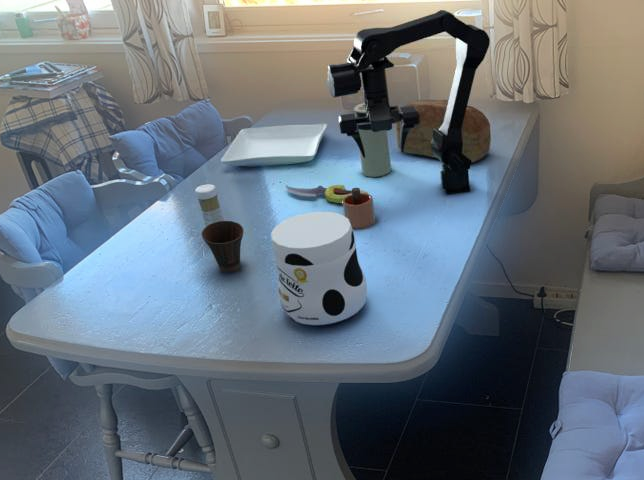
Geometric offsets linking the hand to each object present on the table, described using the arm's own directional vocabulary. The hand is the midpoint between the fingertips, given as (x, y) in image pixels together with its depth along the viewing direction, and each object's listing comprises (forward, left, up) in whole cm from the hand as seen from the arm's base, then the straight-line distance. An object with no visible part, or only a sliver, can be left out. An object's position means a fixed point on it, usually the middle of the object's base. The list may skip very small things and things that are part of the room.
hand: (383, 154), depth 184 cm
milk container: (+18, +46, -13) cm, 51 cm away
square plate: (+28, -47, -13) cm, 56 cm away
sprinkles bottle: (+42, +7, -13) cm, 45 cm away
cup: (+38, +23, -13) cm, 46 cm away
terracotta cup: (+8, +8, -13) cm, 17 cm away
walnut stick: (+8, +8, -12) cm, 17 cm away
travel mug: (+1, -22, -13) cm, 26 cm away
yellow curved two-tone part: (+16, -10, -13) cm, 23 cm away
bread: (-19, -29, -13) cm, 37 cm away
